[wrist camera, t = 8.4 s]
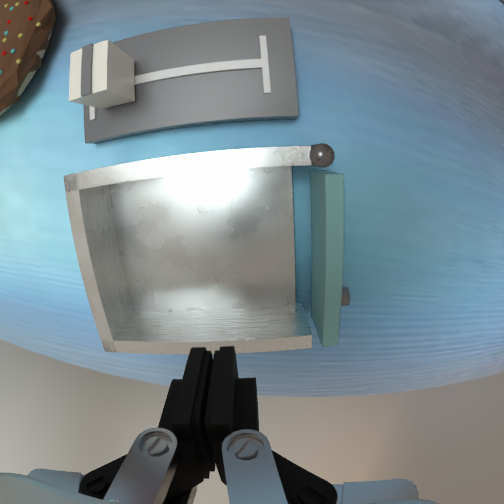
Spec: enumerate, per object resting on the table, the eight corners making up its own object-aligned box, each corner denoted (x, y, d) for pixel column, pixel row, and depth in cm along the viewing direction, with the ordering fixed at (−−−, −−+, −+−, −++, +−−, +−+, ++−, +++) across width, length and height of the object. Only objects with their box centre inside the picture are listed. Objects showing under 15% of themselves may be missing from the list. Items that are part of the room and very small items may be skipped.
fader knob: (134, 59, 15) (106, 38, 11) (134, 100, 16) (105, 88, 12) (101, 68, 15) (69, 52, 11) (101, 108, 16) (67, 100, 12)
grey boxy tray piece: (313, 146, 19) (333, 143, 14) (315, 312, 22) (330, 350, 17) (97, 168, 19) (58, 175, 14) (126, 320, 23) (102, 355, 18)
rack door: (338, 170, 19) (361, 174, 15) (336, 312, 22) (352, 343, 18) (309, 170, 19) (325, 174, 15) (311, 314, 22) (322, 346, 18)
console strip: (286, 26, 16) (289, 16, 14) (295, 118, 18) (299, 115, 16) (94, 56, 16) (83, 51, 14) (95, 143, 18) (83, 143, 17)
